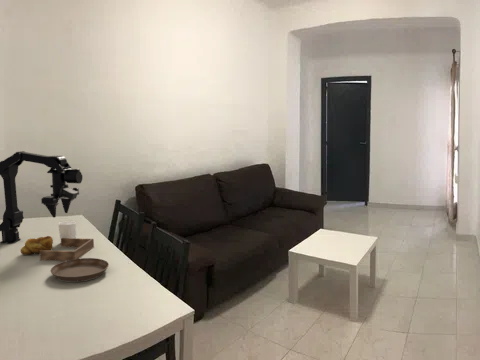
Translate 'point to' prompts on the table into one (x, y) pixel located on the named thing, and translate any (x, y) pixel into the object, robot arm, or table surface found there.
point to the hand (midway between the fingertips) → (60, 215)
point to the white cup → (67, 229)
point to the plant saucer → (79, 269)
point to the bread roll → (37, 245)
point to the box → (68, 255)
